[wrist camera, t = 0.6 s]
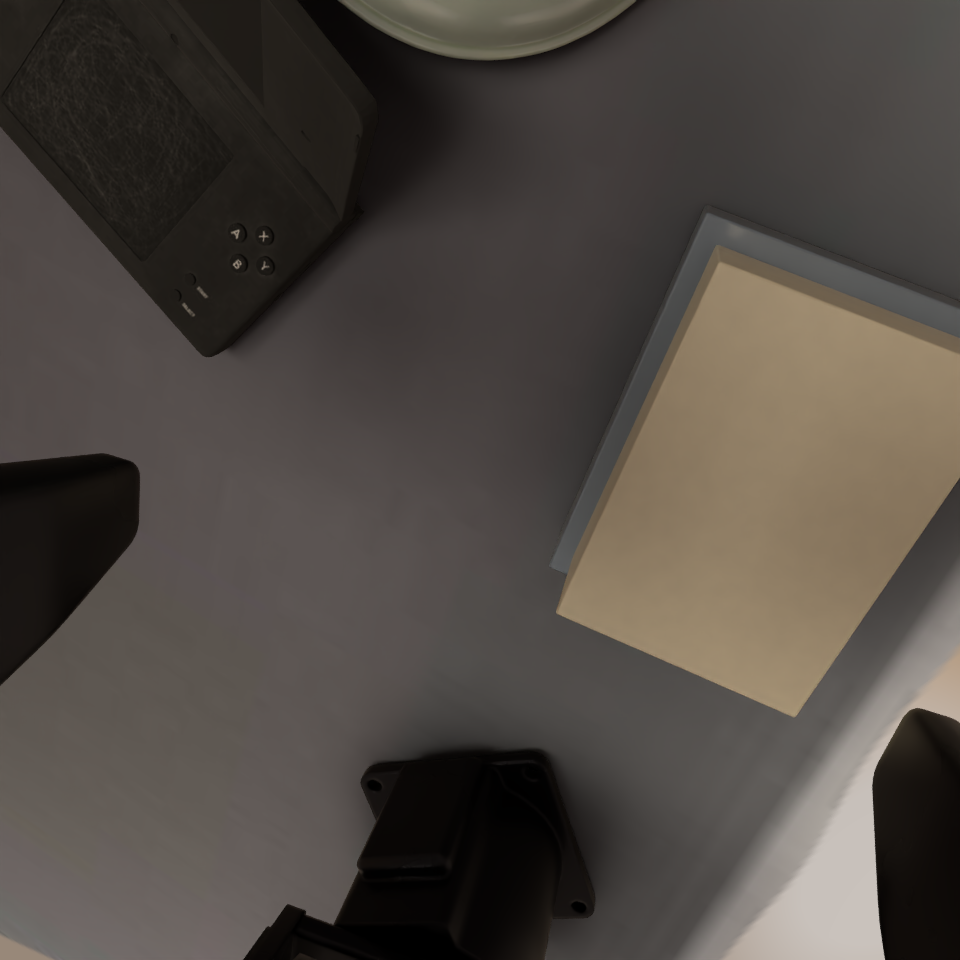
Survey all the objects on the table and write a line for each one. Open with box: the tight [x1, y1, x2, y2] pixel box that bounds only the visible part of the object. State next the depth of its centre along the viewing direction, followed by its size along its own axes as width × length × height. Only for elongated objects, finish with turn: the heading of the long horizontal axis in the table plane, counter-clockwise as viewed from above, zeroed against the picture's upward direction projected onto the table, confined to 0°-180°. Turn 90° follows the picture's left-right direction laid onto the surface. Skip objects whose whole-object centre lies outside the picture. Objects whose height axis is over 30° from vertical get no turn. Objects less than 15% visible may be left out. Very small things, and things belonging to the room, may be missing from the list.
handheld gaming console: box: [0, 0, 378, 357], centre depth 17 cm, size 12×7×10 cm
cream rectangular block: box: [556, 245, 960, 717], centre depth 17 cm, size 8×6×3 cm
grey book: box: [549, 205, 960, 575], centre depth 19 cm, size 9×6×2 cm
